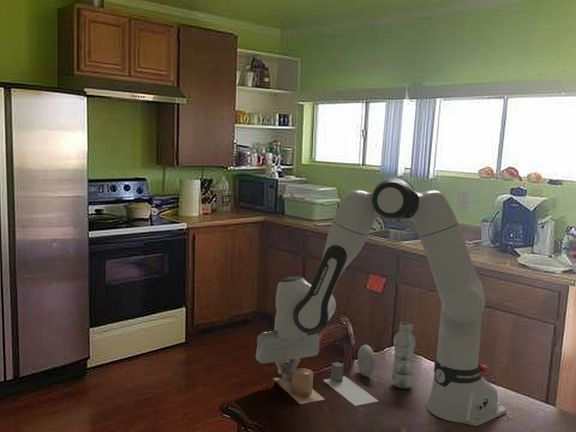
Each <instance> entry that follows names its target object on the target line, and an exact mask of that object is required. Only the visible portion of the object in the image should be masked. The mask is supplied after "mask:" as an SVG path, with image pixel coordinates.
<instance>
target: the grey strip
mask: <svg viewBox="0 0 576 432" xmlns="http://www.w3.org/2000/svg"><path fill="white" fill-rule="evenodd" d="M322 381H323V382H325V383H326V384H328V386H330V387H331V388H332V389H333V390H335V392H336V393H338V394H340V395H341V396H342V397H343V398H345V399H346V400H347V401H348V402H350V403H351V404H352V405H354V406H355V407H356V406H360V405H366V404H367V405H368V404H371V403H377V402H379V400H378V399H377V398H375V397H374V396H373V395H371V394H370V393H369V392H368V391H366V390H365V389H363V388H362V387H361V386H359V385H358V384H356V383H355V382H354V381H352V380H350V379H349V377H347V376H345V375H344V365H343V364H342V363H340V362H339V361H337V362H331V366H330V378H327V379H326V378H325V379H323V380H322Z"/></svg>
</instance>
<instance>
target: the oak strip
mask: <svg viewBox="0 0 576 432" xmlns="http://www.w3.org/2000/svg"><path fill="white" fill-rule="evenodd" d="M281 366H282V367H283V368H285V371H284V372H285V373H284V374H282V378H278V377H273V378H272V380H274V381H275V383H277V385H279V386H280V387H281V388H282V389H283V390H284V391H286V392H287V394H289V395H290V396H291V397H292V398H293V399H294V400H295V401H296V402H297V404H299V405H304V404H308V403H315V402H319V401H324V400H326V399H325V398H324V397H323V396H322V395H320V394H319V393H318V392H317V391H316V390H315V389H313V388H312V394H311V395H310V396H306V397H300V396H296V395H294V394H293V393H292V374H293V362H291V361H290V360H284V361H282V364H281Z"/></svg>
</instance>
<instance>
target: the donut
mask: <svg viewBox="0 0 576 432" xmlns="http://www.w3.org/2000/svg"><path fill="white" fill-rule="evenodd" d="M375 362H376V359H375V354H374V350H373V349H372V347H371V346H370V345H368V344H364V345H362V346H360V348H359V349H358V353H357V366H358V370H359V373H360V374H361V376H363V377H365V378H368V377H371V376H372V375H373V374H374V371H375V366H376V365H375V364H376V363H375Z"/></svg>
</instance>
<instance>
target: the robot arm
mask: <svg viewBox="0 0 576 432" xmlns="http://www.w3.org/2000/svg"><path fill="white" fill-rule="evenodd" d="M379 217H382V218H385V219H388V220H389V219H390V220H398V219H399V220H401V219H404V220H405V219H409V220H411V221H412V222H413V224H414V227H415V228H416V232H417V234H418V237H419V240H420V242H421V245H422V247H423V250H424V254H425V256H426V258H427V259H426V260H427V261H428V264H429V268H430V271H431V275H432V278H433V281H434V283H435V287H436V291H437V294H438V296H439V299H440V303H441V305H440V306H441V307H440V319H439V327H438V340H437V351H436V358H435V359H434V367H433V372H434V374H433V380H432V383H431V389H430V393H429V394H428V400H427V403H426V408H427V410H428V411H429V412H430V413H431V414H432V415H434V416H436V417H438V418H440V419H443V420H446V421H450V422H454V423H461V424H466V425H470V426H475V427H478V426H480V425H483V424H485V423H487V422H489V421H491V420H493V419H496V418H497V417H500V416H502V415H504V414H505V413H507V411H506V408H505V406H504V405H503V404H502V402H499V400H498V398H499V397H498V392H497V389H496V388H495V386H493V385H492V384H491V383H490V382H489V381H487V379H485V378H484V377H483V376H482V373H484V374H488V373H489V372H490V371H489V370H490V368H489V366H487V365H485V364H479V355H480V345H481V334H482V333H481V331H482V328H481V327H482V313H483V311H484V309H485V307H486V296H485V293H484V292H485V291H484V287H483V283H482V282H481V279H479V277H478V275H477V272H476V271H477V270H476V269H475V266H474V263H473V261H472V258H471V254H470V251H469V248H468V246H467V243H466V240H465V238H464V235H463V232H462V230H461V227H460V225H459V221H458V219H457V216H456V214H455V212H454V210H453V208H452V206H451V204H450V203H449V201H448V200H447V198H446V196H445V195H444V194H443V193H442V192H441V191H439V190H435V189H431V190H424V191H421V192H417V191H416V190H415V189H414V187H413V186H412V184H411V183H410V182H408V180H405V179H403V178H399V177H389V178H387V179H385V180H383V181H381V182H380V183H379V184H378V185H376V186H375V188H374V189H373V191H371V192H370V191H366V190H363V189H353V190H350V191H349V192H347V194H346V195H345V196H344V198H343V199H342V201H341V202H340V205H339V206H338V208H337V210H336V212H335V214H334V216H333V219H332V222H331V224H330V228H329V230H328V234H327V237H326V242H325V246H324V250H323V254H322V258H321V262H320V264H319V266H318V269H317V271H316V274H315V276H314V279H313V280H312V283H309V282H308V281H307V280H305V278H304V277H302V276H299V275H294V276H293V275H292V276H287V277H284V278H282V279H281V280H280V281H279V282H278V284H277V287H276V294H275V309H276V313H275V316H274V328H273V330H270V331H263V332H261V333H260V334H258V336H257V337H256V344H257V346H256V351H255V352H256V353H255V358H256V361H258V362H259V363H260V364H262V365H263V364H269V363H275V364H276V367H277V373H278V374H279V375H281V374H284V373H285V372H284V371H285V368H283V367H281V366H282V361H290V360H293V362H292V363H293V370H294V369H297V367H298V365H299V364H300V362H301V359H303V358H308V357H309V358H310V357H315V356H317V355H318V354H319V352H320V338H319V336H318V334H319V333H321V332H322V331H324V330H325V329H326V327H327V325H328V323H329V321H330V319H331V318H332V317H333V315H334V314H335V312H336V310H337V301H336V299H335V296H334V295H333V293H334V290H335V289H336V286H337V284H338V281H339V279H340V277H341V275H342V274H343V272H344V271H345V270H346V268H347V267H348V266H349V264H350V263H351V262H352V261H353V260H354V259H355V258H356V257H357V256H358V254H359V253H360V252H361V250H362V248H363V247H364V245H365V243H366V241H367V239H368V237H369V234H370V231H371V229H372V228H373V227H372V226H374V225H373V224H374V223H375V221H376V220H377V219H378V218H379Z"/></svg>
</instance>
